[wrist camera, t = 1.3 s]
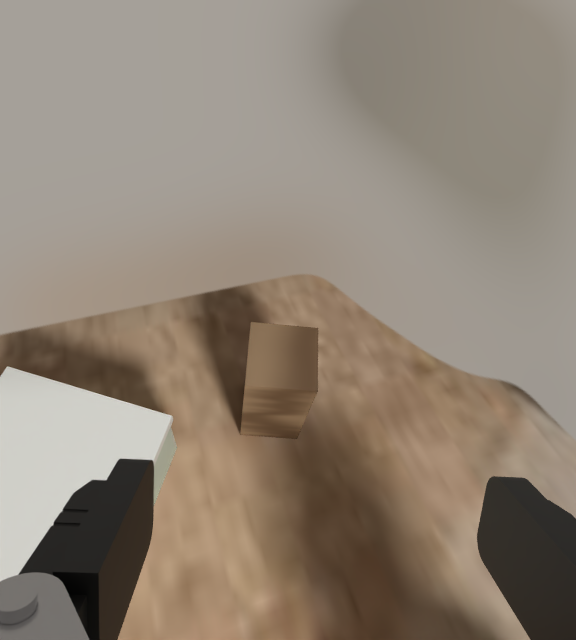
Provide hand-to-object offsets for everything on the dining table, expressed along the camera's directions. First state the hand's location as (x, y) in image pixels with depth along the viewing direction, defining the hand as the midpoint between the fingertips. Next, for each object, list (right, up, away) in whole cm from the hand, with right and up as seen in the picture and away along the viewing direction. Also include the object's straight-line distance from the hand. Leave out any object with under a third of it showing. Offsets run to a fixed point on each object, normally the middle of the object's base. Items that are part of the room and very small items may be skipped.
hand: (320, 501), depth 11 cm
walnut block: (-2, -3, +28) cm, 28 cm away
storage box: (-16, -9, +23) cm, 29 cm away
